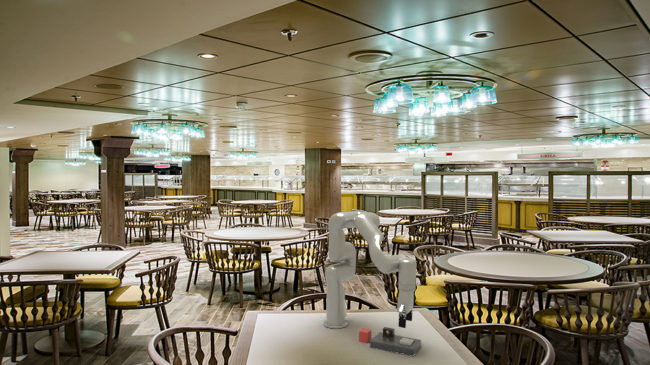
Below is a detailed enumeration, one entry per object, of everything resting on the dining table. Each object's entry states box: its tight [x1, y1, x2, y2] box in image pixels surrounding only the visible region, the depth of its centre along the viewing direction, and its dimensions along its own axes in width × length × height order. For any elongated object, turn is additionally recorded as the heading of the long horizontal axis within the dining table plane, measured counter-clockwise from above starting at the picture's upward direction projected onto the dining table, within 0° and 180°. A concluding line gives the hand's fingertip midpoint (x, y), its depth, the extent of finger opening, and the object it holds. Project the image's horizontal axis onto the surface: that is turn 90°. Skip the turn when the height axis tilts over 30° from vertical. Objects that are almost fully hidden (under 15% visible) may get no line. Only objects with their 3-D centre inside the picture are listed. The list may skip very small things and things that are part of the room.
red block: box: [358, 327, 372, 344], centre depth 200 cm, size 4×4×5 cm
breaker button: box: [400, 338, 414, 346], centre depth 191 cm, size 5×5×3 cm
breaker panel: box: [369, 327, 422, 356], centre depth 193 cm, size 12×20×6 cm, turn 62°
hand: (405, 323), depth 191 cm, fingers open, 9 cm apart
